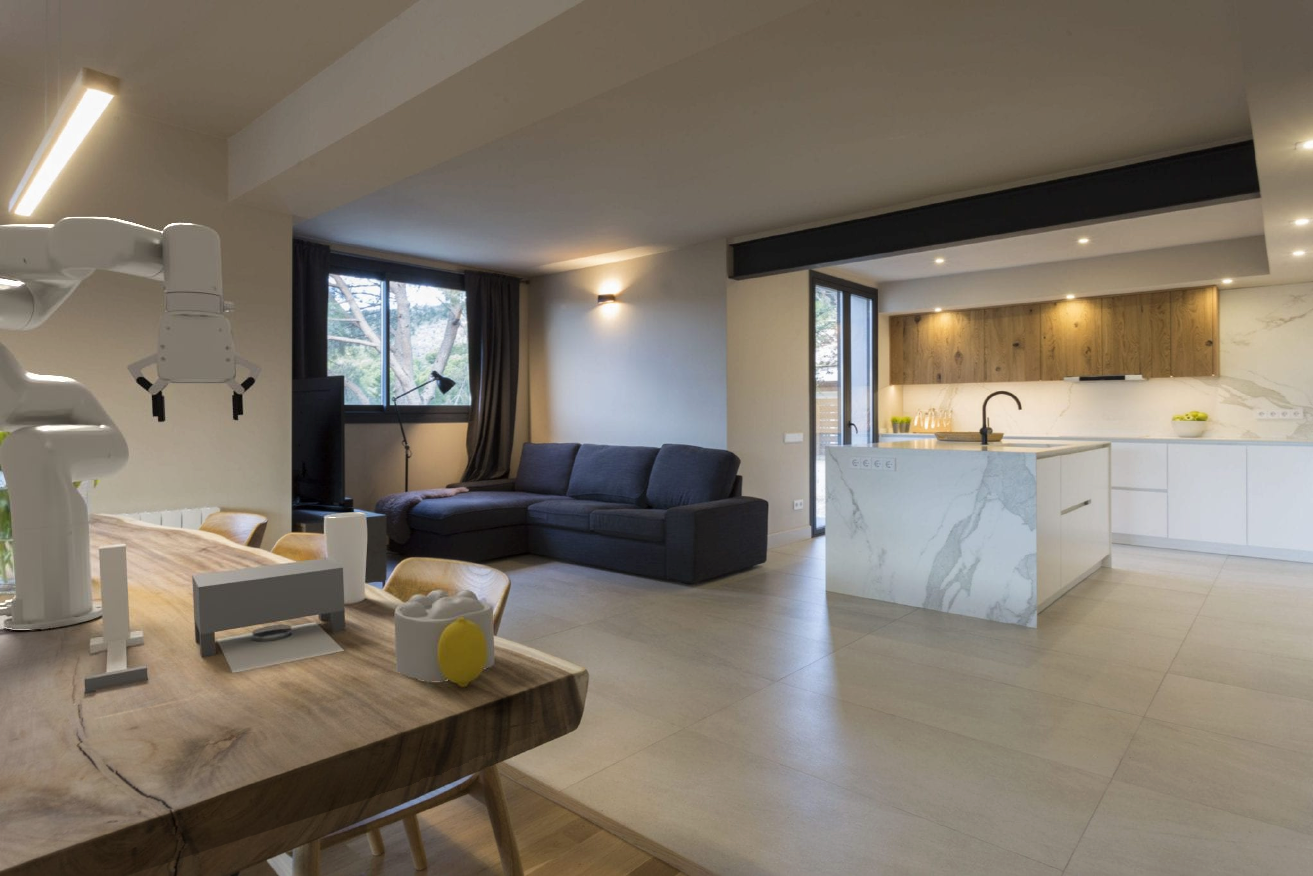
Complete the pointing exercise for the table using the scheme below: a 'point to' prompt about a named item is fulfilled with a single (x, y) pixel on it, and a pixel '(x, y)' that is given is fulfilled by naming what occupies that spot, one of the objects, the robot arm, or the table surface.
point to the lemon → (462, 652)
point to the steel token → (271, 633)
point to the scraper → (115, 623)
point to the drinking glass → (348, 550)
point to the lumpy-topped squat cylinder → (436, 630)
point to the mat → (277, 648)
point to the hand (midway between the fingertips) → (199, 420)
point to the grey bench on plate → (266, 597)
